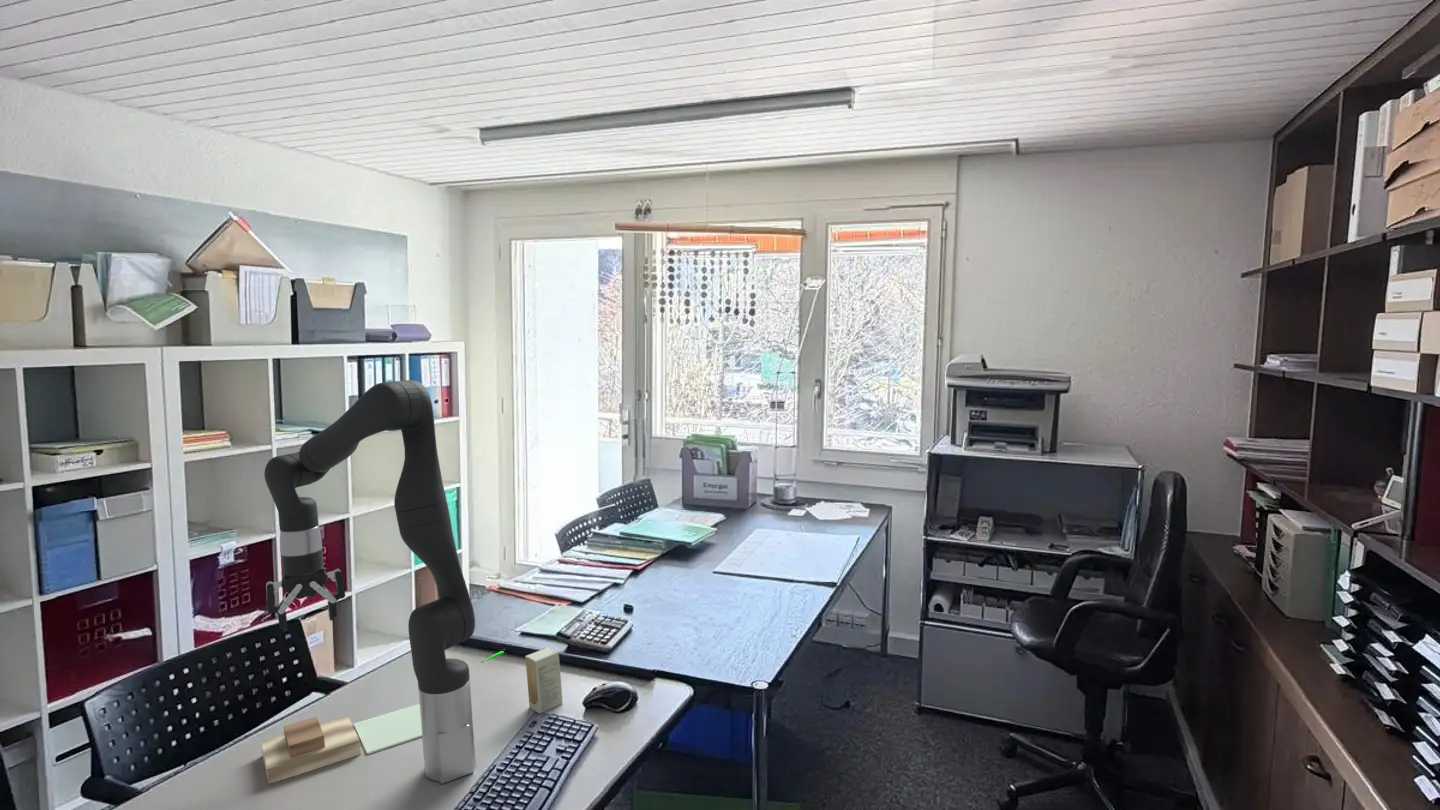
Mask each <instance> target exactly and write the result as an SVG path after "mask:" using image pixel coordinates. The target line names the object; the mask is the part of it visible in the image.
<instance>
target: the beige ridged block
mask: <svg viewBox="0 0 1440 810" xmlns="http://www.w3.org/2000/svg"><path fill="white" fill-rule="evenodd" d="M319 724H320V727H321V729H322V732H323V734H324V742H325V747H324V748H321V749H318V750H315V751H312V752H309V753H305V754H302V755H299V756H296V757H293V758H290V755H289V752H288V748H287V745H286V741H285V737H284V734H281V735H279V736H278V735H277V736H275V737H272V738H268V739H264V740H262V741H260V747H261V753H262V754H261V756H262V755H263V756H262V759H263V765H264V768H265V769H266V770H265V769H264V770H265V774H266V778H267V784H268V785H270V783H271V784H274V783H277V782H280V780H281V781H283V779H284V780H287V779H289V777H290V778H292V776H293V777H296V776H299V775H301V774H305V773H308V772H310V771H314V770H317V769H319V768H320V769H321V768H323V767H326V766H330V765H331V764H336V763H338V762H341V761H345V760H347V759H351V758H353V757H354V758H355V757H358V756H360V755H361V754H362V753H361V751H362V750H361V740H360V738H359V736H358V734H357V732H356V729H355V727H354V724H353V723H352V720H351V719H350V717H349V715H346V716H342V717H340V718H336V719H332V720H329V721H326V722H322V723H319ZM286 778H287V779H286Z"/></svg>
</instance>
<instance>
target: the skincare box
mask: <svg viewBox="0 0 1440 810" xmlns="http://www.w3.org/2000/svg"><path fill="white" fill-rule="evenodd" d="M559 653H560V652H559V651H558V650H556V649H553V648H552V647H549V646H547V647H544V648H541V649H539V650H537V651H534V652H532V653H529V654H527V655H525V667H526V668H525V669H526V680H527V691H528V704H529V708H530V709H531V710H533V711H534V712H536V713H538V714H541V713H544V712H547V711H548V710H552V709H553V708H554V707H557V706H559V705H561V704H563V691H562V690H563V689H562V679H561V666H560V654H559Z"/></svg>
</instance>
